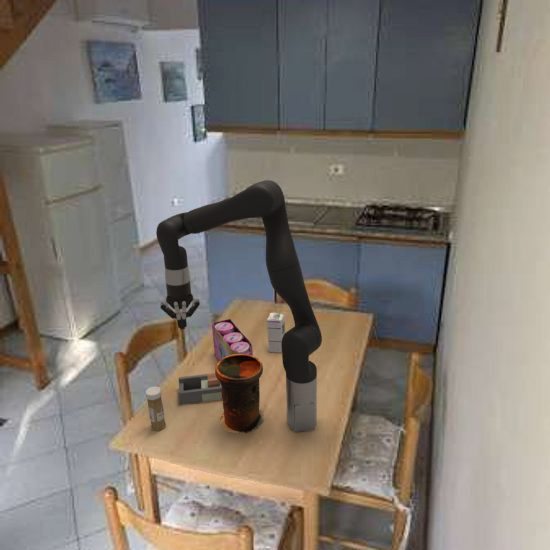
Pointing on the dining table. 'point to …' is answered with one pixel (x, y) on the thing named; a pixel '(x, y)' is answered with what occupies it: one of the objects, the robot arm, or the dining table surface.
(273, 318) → the syrup box
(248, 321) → the dining table surface
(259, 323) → the dining table surface
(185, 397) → the channel
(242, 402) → the vessel
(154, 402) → the sprinkles bottle
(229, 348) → the gum box
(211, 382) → the block
